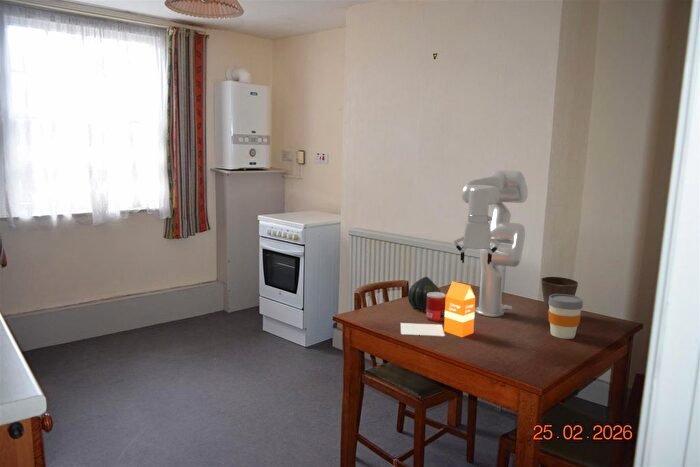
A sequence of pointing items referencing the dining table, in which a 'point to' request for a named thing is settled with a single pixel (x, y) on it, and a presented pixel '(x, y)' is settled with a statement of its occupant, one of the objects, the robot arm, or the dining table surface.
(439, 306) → the canned food
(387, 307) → the dining table surface
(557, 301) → the reusable coffee cup
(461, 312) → the orange juice
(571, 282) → the plant pot
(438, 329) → the mat
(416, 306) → the squash
